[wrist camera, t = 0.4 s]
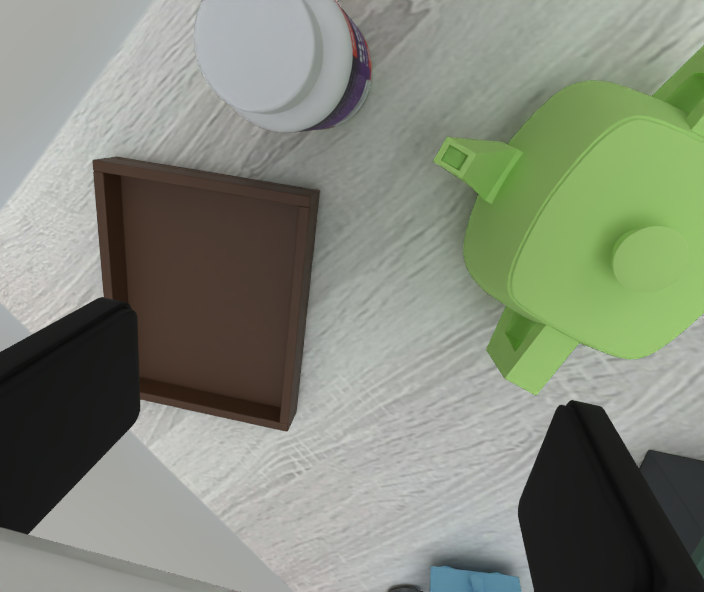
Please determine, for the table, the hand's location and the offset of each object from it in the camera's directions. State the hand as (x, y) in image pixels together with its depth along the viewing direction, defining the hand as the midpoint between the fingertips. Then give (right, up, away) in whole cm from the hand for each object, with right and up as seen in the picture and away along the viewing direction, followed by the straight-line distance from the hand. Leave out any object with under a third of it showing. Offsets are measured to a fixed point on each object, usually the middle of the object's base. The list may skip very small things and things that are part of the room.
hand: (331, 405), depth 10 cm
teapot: (+12, +7, +14) cm, 19 cm away
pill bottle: (-1, +14, +13) cm, 19 cm away
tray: (-8, +2, +19) cm, 21 cm away
